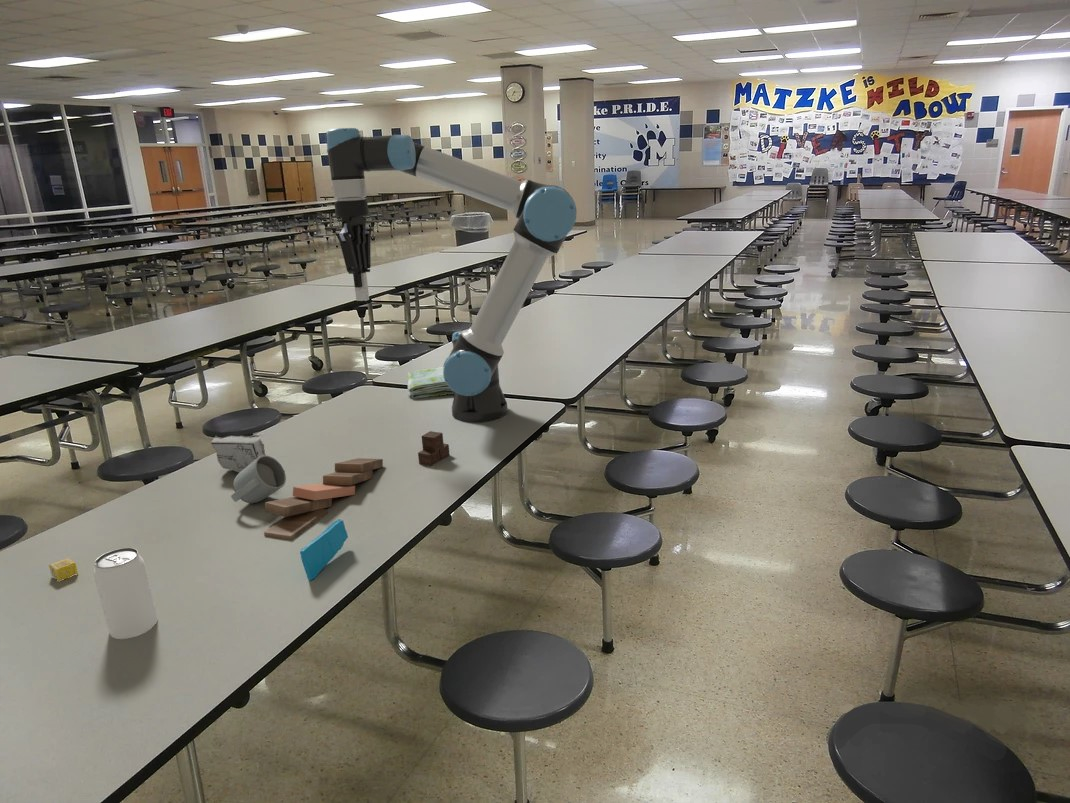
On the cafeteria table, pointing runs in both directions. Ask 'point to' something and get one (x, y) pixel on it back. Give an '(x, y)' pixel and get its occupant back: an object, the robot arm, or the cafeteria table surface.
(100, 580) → the can
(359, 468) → the domino
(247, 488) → the ceramic mug
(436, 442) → the stack of crates
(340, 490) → the domino
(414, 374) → the towel
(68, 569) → the small yellow block
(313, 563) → the sponge
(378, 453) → the cafeteria table surface
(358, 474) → the domino
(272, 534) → the domino
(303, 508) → the domino
